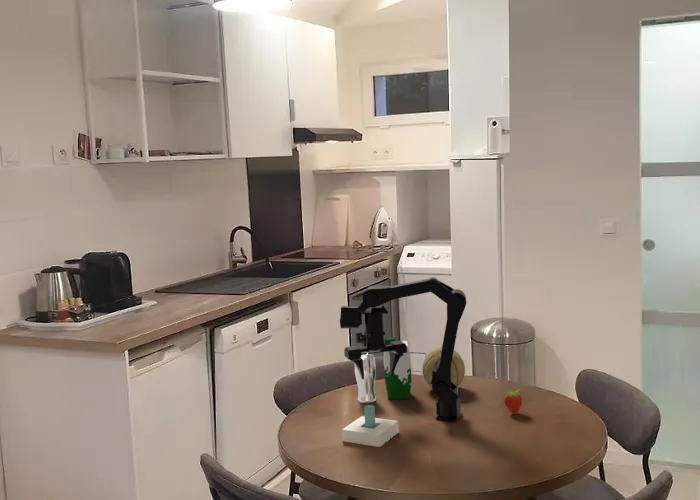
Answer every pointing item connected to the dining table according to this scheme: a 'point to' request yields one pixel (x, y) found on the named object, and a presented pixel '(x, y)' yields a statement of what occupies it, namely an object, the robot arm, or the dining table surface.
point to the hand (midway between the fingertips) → (377, 377)
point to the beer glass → (366, 379)
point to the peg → (369, 416)
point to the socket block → (370, 432)
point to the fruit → (513, 401)
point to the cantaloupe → (434, 359)
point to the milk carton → (397, 374)
